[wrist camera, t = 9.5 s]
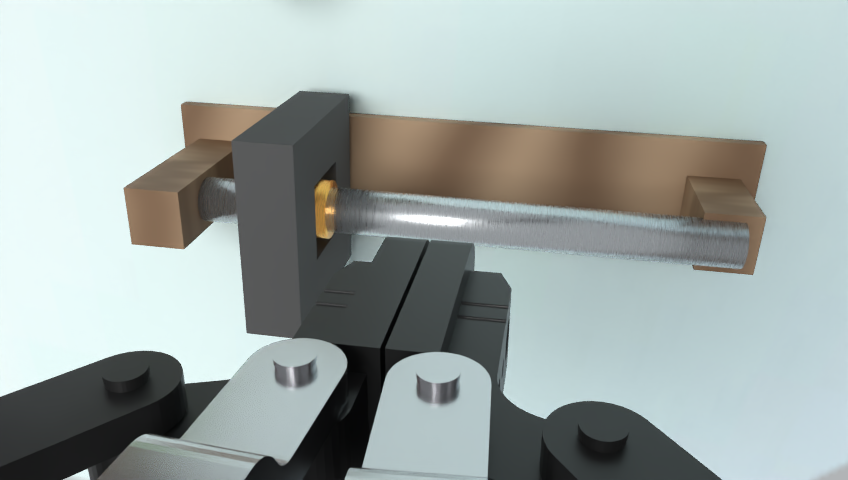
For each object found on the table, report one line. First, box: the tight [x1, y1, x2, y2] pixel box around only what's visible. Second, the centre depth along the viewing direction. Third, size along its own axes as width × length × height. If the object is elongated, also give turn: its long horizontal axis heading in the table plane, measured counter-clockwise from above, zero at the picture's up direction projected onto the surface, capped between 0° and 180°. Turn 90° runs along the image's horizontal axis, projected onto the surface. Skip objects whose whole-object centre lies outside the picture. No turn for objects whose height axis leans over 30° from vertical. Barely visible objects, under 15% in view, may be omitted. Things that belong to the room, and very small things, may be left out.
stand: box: [124, 102, 767, 275], centre depth 34 cm, size 28×6×8 cm, turn 87°
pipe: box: [198, 177, 749, 269], centre depth 33 cm, size 25×3×3 cm, turn 87°
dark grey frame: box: [231, 91, 351, 338], centre depth 34 cm, size 2×8×8 cm, turn 177°
